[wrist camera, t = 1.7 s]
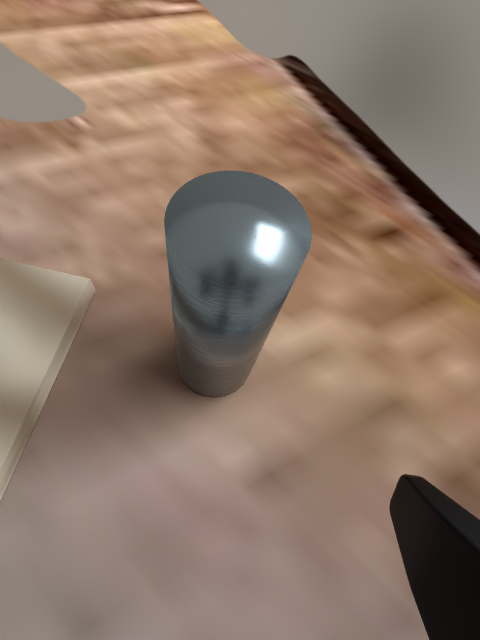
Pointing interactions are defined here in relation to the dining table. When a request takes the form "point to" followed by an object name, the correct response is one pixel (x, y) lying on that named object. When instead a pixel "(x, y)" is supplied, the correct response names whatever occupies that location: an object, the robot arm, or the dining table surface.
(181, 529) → the dining table surface
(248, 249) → the shiny steel cylinder
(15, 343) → the collar base
